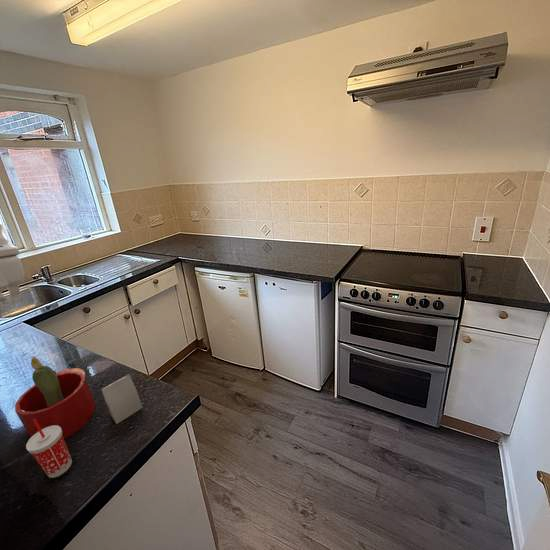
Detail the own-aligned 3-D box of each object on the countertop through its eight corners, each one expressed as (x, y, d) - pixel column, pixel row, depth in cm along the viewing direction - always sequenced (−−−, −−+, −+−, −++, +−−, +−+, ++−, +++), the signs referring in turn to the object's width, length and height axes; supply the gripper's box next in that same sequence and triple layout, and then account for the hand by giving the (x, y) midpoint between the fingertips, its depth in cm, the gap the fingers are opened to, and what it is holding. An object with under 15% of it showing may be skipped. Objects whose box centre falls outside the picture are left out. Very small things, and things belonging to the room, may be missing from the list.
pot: (33, 455, 69) (15, 425, 66) (29, 420, 80) (14, 392, 76) (101, 418, 77) (89, 389, 74) (90, 390, 88) (79, 364, 85)
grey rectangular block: (142, 407, 79) (132, 377, 76) (116, 424, 75) (103, 393, 71) (137, 401, 82) (126, 371, 78) (111, 416, 78) (99, 386, 74)
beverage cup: (71, 449, 69) (48, 403, 64) (79, 464, 65) (55, 416, 60) (40, 470, 65) (12, 422, 60) (47, 487, 61) (18, 438, 56)
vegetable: (56, 415, 79) (25, 353, 72) (74, 408, 81) (46, 347, 74) (53, 427, 76) (20, 363, 68) (72, 420, 77) (42, 356, 70)
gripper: (-38, 261, 83) (-20, 308, 86) (-10, 250, 73) (10, 304, 75) (-9, 257, 89) (7, 301, 91) (20, 246, 79) (38, 296, 81)
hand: (9, 302), depth 83 cm, fingers open, 8 cm apart
